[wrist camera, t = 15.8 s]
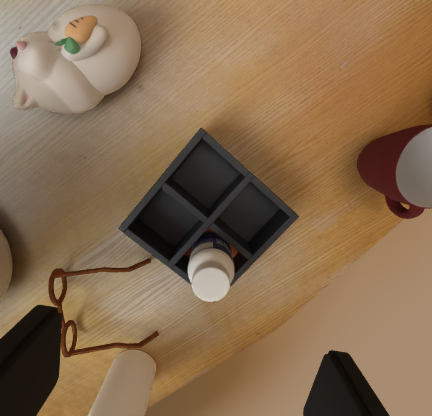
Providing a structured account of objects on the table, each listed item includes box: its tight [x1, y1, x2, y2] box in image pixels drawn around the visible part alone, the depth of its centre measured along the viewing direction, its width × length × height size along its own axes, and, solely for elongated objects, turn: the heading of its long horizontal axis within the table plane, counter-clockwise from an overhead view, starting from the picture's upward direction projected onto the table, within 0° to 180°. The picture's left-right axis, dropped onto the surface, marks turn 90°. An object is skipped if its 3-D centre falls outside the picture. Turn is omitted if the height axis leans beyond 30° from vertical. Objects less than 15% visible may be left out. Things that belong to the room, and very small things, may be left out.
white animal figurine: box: [10, 4, 141, 114], centre depth 26 cm, size 10×8×15 cm
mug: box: [357, 124, 432, 219], centre depth 29 cm, size 11×8×10 cm
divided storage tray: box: [118, 128, 299, 302], centre depth 32 cm, size 15×15×5 cm
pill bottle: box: [188, 231, 234, 302], centre depth 30 cm, size 5×5×10 cm
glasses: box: [48, 259, 159, 357], centre depth 35 cm, size 13×13×5 cm
